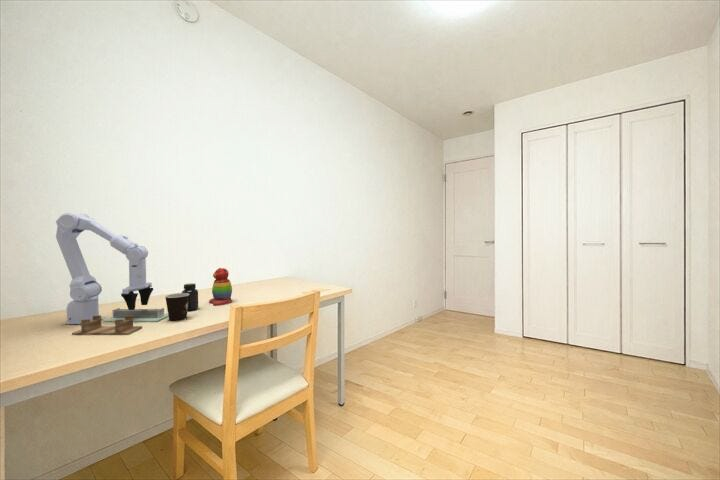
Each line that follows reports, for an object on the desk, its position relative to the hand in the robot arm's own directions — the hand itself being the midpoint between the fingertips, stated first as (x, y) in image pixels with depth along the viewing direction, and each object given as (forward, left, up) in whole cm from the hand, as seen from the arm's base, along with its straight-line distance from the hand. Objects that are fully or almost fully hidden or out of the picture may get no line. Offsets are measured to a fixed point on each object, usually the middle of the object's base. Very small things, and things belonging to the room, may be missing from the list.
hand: (138, 307), depth 128 cm
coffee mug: (+17, +1, -5) cm, 18 cm away
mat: (0, 0, -5) cm, 5 cm away
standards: (0, -16, -5) cm, 17 cm away
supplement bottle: (+14, +14, -5) cm, 21 cm away
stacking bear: (+23, +27, -5) cm, 36 cm away
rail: (0, 0, -4) cm, 4 cm away
